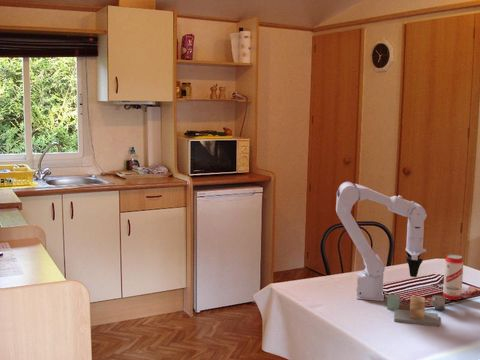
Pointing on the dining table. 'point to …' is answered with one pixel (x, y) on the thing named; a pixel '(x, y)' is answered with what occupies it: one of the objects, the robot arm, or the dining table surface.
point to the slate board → (405, 317)
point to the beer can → (453, 277)
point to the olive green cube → (393, 302)
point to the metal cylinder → (438, 303)
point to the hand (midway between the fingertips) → (413, 273)
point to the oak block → (417, 307)
